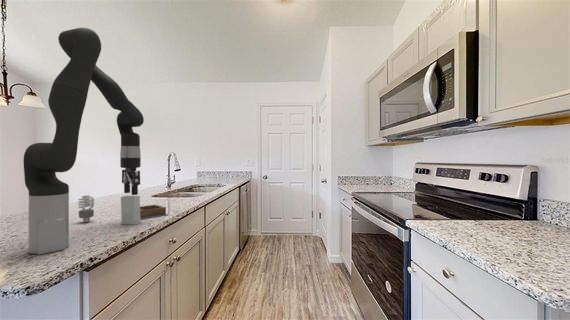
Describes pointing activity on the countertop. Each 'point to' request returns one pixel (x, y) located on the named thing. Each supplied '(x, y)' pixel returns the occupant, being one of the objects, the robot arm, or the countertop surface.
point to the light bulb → (86, 212)
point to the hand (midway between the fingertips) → (130, 193)
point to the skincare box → (130, 210)
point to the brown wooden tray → (152, 211)
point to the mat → (153, 217)
